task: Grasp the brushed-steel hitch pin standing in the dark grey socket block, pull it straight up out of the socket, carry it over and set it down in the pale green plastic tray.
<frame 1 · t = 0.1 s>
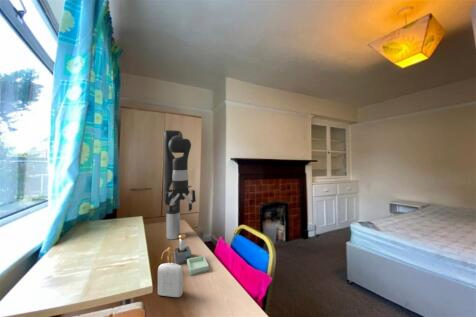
hand: (180, 211, 97), 29 cm above the table, fingers open, 8 cm apart
figurine: (170, 272, 96), on the table
photo printer: (170, 294, 81), on the table
tray: (197, 267, 100), on the table
pin: (182, 247, 108), in the socket block
socket block: (182, 259, 108), on the table
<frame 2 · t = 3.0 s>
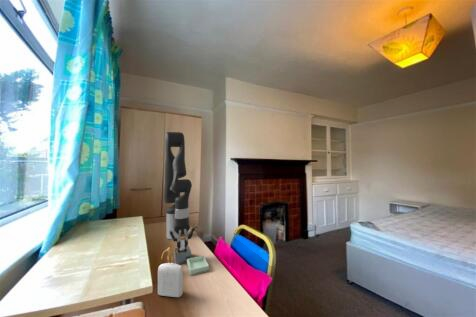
hand: (182, 247, 108), 7 cm above the table, fingers closed on pin, 3 cm apart
pin: (182, 247, 108), in the socket block, touching gripper
everything else where it was.
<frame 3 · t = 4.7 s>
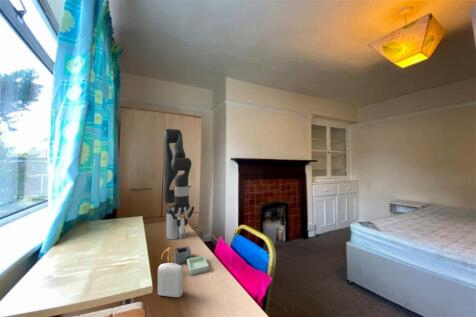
hand: (182, 225, 108), 19 cm above the table, fingers closed on pin, 3 cm apart
pin: (182, 225, 108), point 18 cm above the table, touching gripper
everything else where it was.
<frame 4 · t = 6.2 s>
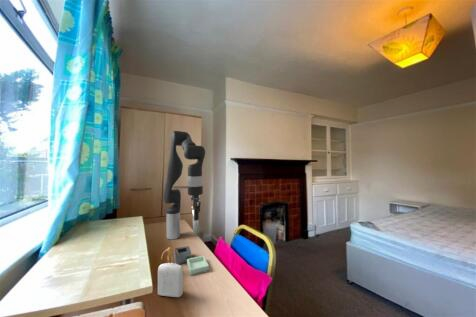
hand: (195, 219, 100), 25 cm above the table, fingers closed on pin, 3 cm apart
pin: (195, 219, 100), point 25 cm above the table, touching gripper
everything else where it was.
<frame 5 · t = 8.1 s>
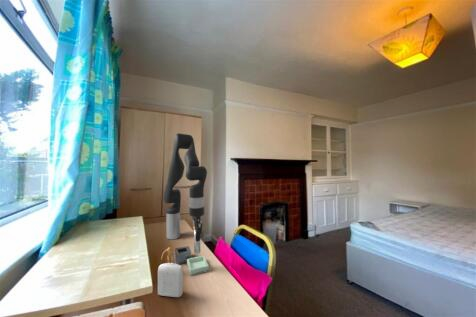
hand: (197, 239, 100), 14 cm above the table, fingers closed on pin, 3 cm apart
pin: (197, 239, 100), point 14 cm above the table, touching gripper
everything else where it was.
when the fingers open (8 cm above the table, at t = 9.7 s): pin stays where it is, resting on tray.
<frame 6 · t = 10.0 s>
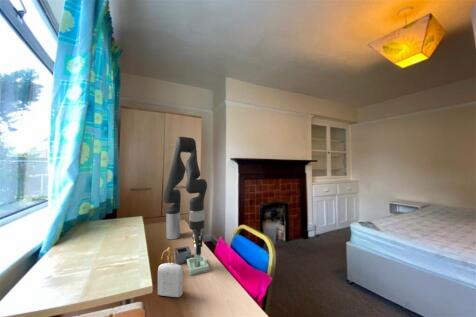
hand: (197, 251, 100), 8 cm above the table, fingers open, 6 cm apart
pin: (197, 253, 100), in the tray, point 7 cm above the table
everything else where it was.
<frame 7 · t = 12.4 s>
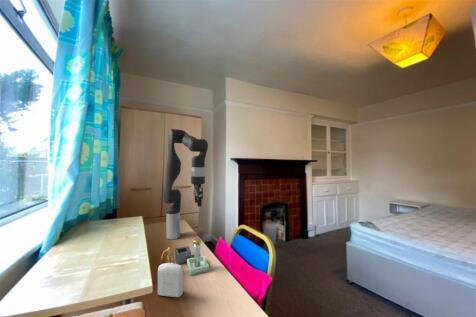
hand: (198, 204, 109), 30 cm above the table, fingers open, 8 cm apart
nothing on the table moved.
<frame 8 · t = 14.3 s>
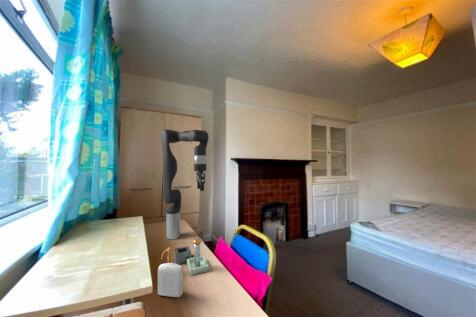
hand: (200, 189, 120), 36 cm above the table, fingers open, 8 cm apart
nothing on the table moved.
at the end: pin inside the target area on the tray (0.1 cm from its centre), point 7.2 cm above the tray's base; the gripper is holding nothing; pin touching tray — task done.
